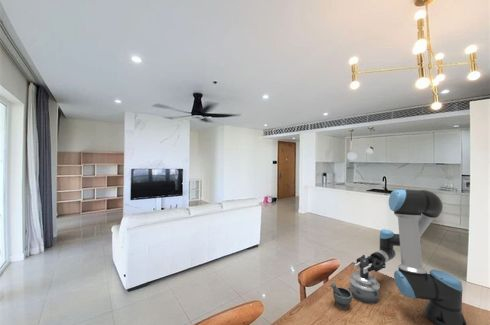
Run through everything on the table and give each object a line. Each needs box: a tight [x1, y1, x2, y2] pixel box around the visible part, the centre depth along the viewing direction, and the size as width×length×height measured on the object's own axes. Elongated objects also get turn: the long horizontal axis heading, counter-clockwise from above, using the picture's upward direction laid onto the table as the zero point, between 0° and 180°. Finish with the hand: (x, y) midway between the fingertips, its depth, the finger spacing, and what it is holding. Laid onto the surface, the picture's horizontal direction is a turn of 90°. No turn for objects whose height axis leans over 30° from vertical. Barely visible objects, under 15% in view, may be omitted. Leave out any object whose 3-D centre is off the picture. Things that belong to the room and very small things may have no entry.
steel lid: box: [352, 258, 377, 285], centre depth 123 cm, size 12×12×12 cm
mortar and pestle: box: [330, 282, 353, 310], centre depth 116 cm, size 11×9×12 cm
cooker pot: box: [348, 274, 381, 304], centre depth 124 cm, size 16×16×8 cm
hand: (359, 269), depth 120 cm, fingers closed on steel lid, 4 cm apart
